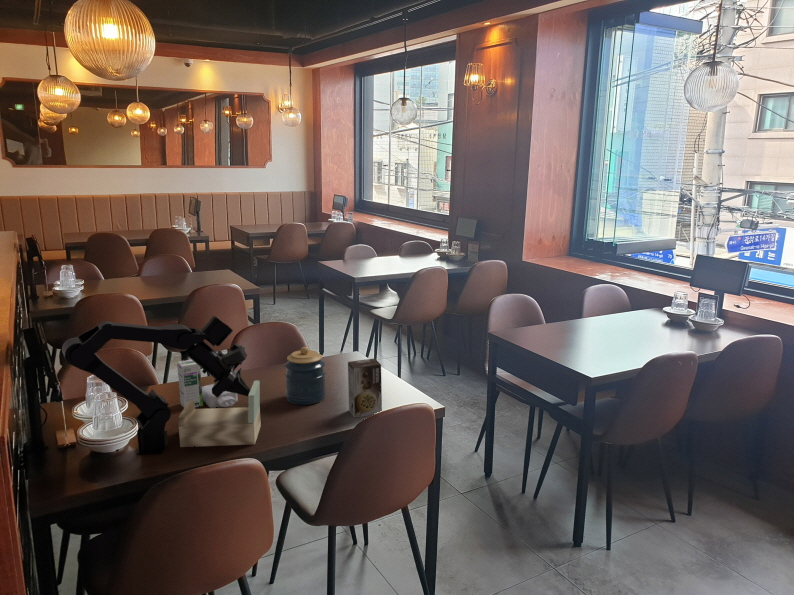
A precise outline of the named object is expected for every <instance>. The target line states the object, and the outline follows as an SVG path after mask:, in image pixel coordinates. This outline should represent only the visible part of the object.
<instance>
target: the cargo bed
mask: <svg viewBox="0 0 794 595" xmlns="http://www.w3.org/2000/svg"><path fill="white" fill-rule="evenodd" d="M260 408H261V406H260V407H259V410H258V413H257V416H256V419H255V421H254V423H248V407H245V406H244V407H217V408H210V407H209V408H196V407H195V404H194V401H189V402H188V403H187V405H186V406H185V408H184V407H183V409H182V411H181V412H180V414H179V416H178V417H177V420H178V421H177V422H178V436H179V446H180V448H187V447H191V448H193V447H194V446H195V447H215V446H216V447H217V446H219V447H220V446H242V445H249V446H250V445H256V441H257V439H258V436H259V433H260V429H261V427H262V426H261V425H262V424H261V413H260V412H261V409H260Z"/></svg>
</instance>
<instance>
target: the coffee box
mask: <svg viewBox="0 0 794 595" xmlns="http://www.w3.org/2000/svg"><path fill="white" fill-rule="evenodd" d="M347 373H348V374H347V378H348V379H347V381H348V386H347V387H348V411H349V412H350V414H351V415H352V416H353V417H354V418H360V417H366V416H373V415H375V414H374V413H377V412H380V411H382V412H383V406H382V405H383V403H382V401H383V396H382V394H383V393H382V364H381V363H380V362H379V361H378V360H377V359H376V358H368V359H367V358H366V359H360V360H359V359H358V360H353V361H347ZM372 414H373V415H372Z"/></svg>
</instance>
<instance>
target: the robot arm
mask: <svg viewBox="0 0 794 595" xmlns="http://www.w3.org/2000/svg"><path fill="white" fill-rule="evenodd" d="M233 332H234V330H233V329H232V328H231V327H230V326H229V325H228V324H227V323H225V322H223V321H222V320H221V319H219V318H218V317H217V316H215V315H212V317H211V318H210V319H209V321H208V322H207V323H206V324H205V326H203V328H202V329H200V328H199V327H198V328H196V327H187V326H186V325H184V324H183V323H182V324H181V323H179V324H177V323H176V324H175V323H174V324H166V325H161V326H160V325H159V326H153V325H144V324H143V325H141V324H133V323H122V322H113V321H110V320H104V321H101V322H100V323H99V324H97V325H95V326H94V327H92V328H90V329H88V330H86V331H84V332H82V333H81V334H79V335H78V336H76V337H71V338H68V339H67V340H66V341H64V342H63V344H62V346H61V352H62V354H63V357H64V359H65V361H66V362H67V363H68V364H69V365H71V366H72V367H75V368H77V369H79V370H81V371H83V372H85V373H89V374H92V375H94V376H95V377H96V378H98V379H99V380H100V381H102V382H103V383H104V384H106V385H107V386H109V387H110V388H111V389H113V390H114V391H116V392H117V393H118V394H120V395H121V396H122V397H124V398H125V399H127V400H128V401H129V402H130V403H131V404H133V405H135V406H136V407H137V409H138V410H139V411H140V412H139V414H138V415H137V416H136V417H135V418H134V420H135V422H136V423H137V425H138V426H139V428H138V429H137V430H136V433H137V434H136V435H137V445H138V450H137V452H136V455H137V456H142V455H143V456H144V455H145V456H146V455H162V454H163V452H164V451H165V450H166V448H167V446H168V445H169V442H168V431H167V430H166V429H165V428H166V425H167V423H168V422H169V420H170V419H171V418H172V417H171V416H172V410H171V408H170V407H169V405H170V403H168V401H167V400H166V399H165V398H164V396H163V395H159V394H158V393H157V392H156V391H155V390H154V389H151V390H150V391H149V392H147V391H144V390H143V389H141V388H140V387H138V386H137V385H135V383H133V382H131V381H130V380H129V379H128V378H127V377H125V376H124V375H123V374H121V373H120V372H119V371H117V370H116V369H114V368H113V367H112V366H110V365H109V364H107V362H105V361H104V360H102V359H101V357H99V355H98V354H97V353H98V352H99V350H101V349H102V348H103V346H104V345H106V344H107V343H108V342H109V341H111V340H119V341H120V340H122V341H132V342H133V341H134V342H144V343H146V342H147V343H155V344H156V343H157V344H161V345H164V346H166V347H169V348H173V349H177V350H180V351H179V353H180V360H181V361H185V360H186V358H189V360H193V361H194V362H195V363H196V364H198V365H199V366H200V369H202V370H201V372H202V373H203V374H204V375H206V373H207V374H208V375H210V376H211V378H213V379H214V380H213V384H214V386H213V387H212V394H213V395H214V396H216V397H217V398H218V397H219V396H220V395H221V394H222V393H223V392H225V391H227V392H232V393H236V394H237V395H241V396H244V397H248V395H249V393H250V390H251V388H250V387H249V386H248V385H247V383H246V382H245V380H244V379H243V376H242V367H241V368H239V369H238V370H236V369H237V367H239V365H240V366H241V365H242V364H243V362H244V361H245V360H246V358H247V357H248V354H247V352H246V351H245V349H246V348H245V347H244V346H243V345H240V344H238V343H234V344H232V345H231V346H230V350H229V351H228V352H227V353H223V352H222V351H218V352H217V351H215V350H214V348H212V347H215V346H216V347H220V346H221V345H222V344H223V343H224V342H225V341H226V340H227V339H228V338H229V336H230V335H231V334H232V333H233ZM205 341H206V342H205ZM207 342H208V343H209V344H210V345H211V346H210V345H209V344H207Z"/></svg>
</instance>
